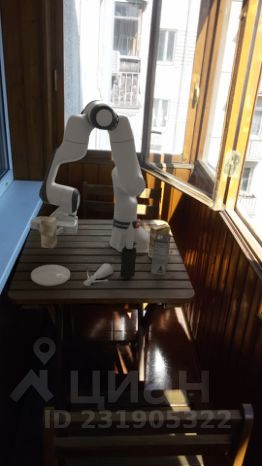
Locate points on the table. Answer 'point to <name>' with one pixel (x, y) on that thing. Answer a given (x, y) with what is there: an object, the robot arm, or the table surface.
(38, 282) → the plate
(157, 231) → the candy box
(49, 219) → the maple block
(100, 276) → the woman figurine
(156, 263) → the coffee box
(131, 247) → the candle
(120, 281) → the table surface
